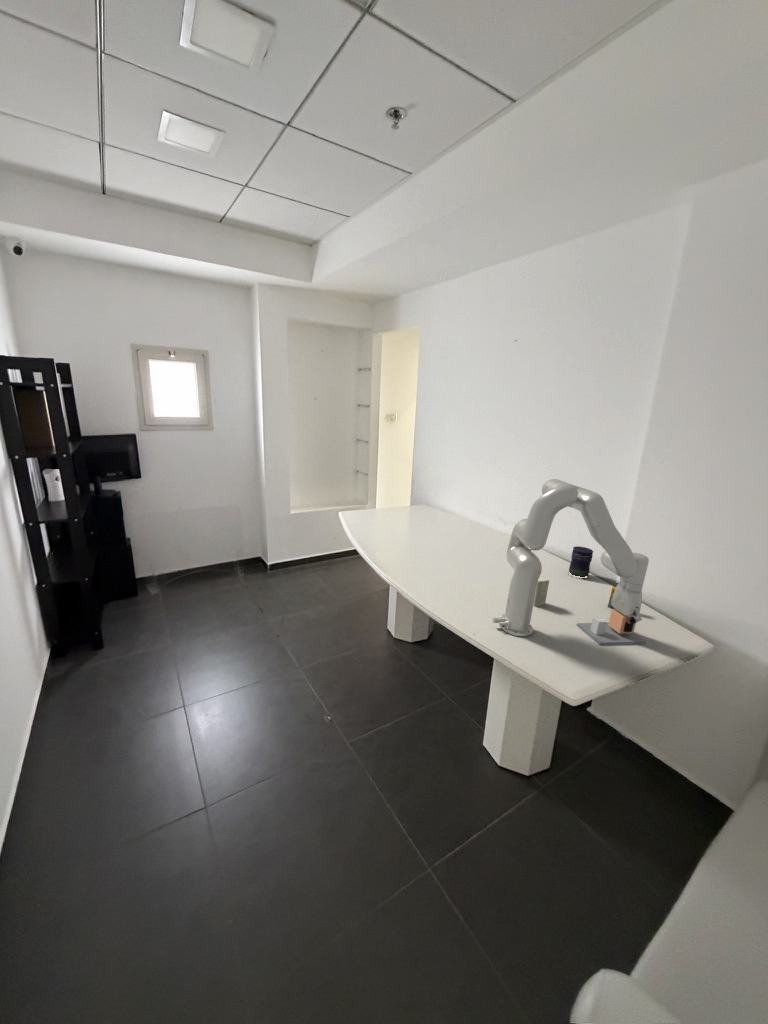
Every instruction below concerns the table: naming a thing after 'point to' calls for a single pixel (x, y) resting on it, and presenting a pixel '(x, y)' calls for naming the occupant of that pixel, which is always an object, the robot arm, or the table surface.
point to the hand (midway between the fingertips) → (621, 626)
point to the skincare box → (541, 591)
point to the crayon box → (612, 593)
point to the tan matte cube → (619, 621)
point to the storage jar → (580, 561)
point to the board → (608, 633)
